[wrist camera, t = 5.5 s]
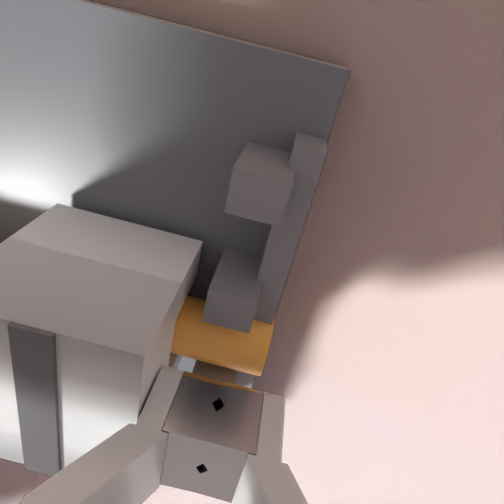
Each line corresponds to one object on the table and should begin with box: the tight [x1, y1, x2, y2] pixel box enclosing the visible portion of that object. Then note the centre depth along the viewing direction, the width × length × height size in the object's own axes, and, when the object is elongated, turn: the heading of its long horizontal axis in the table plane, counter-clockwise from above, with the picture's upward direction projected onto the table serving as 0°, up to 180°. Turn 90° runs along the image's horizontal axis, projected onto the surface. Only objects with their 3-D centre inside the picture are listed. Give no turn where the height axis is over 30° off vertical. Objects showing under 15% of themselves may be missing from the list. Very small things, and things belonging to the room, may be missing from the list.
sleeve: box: [0, 203, 203, 476], centre depth 10 cm, size 4×4×4 cm
